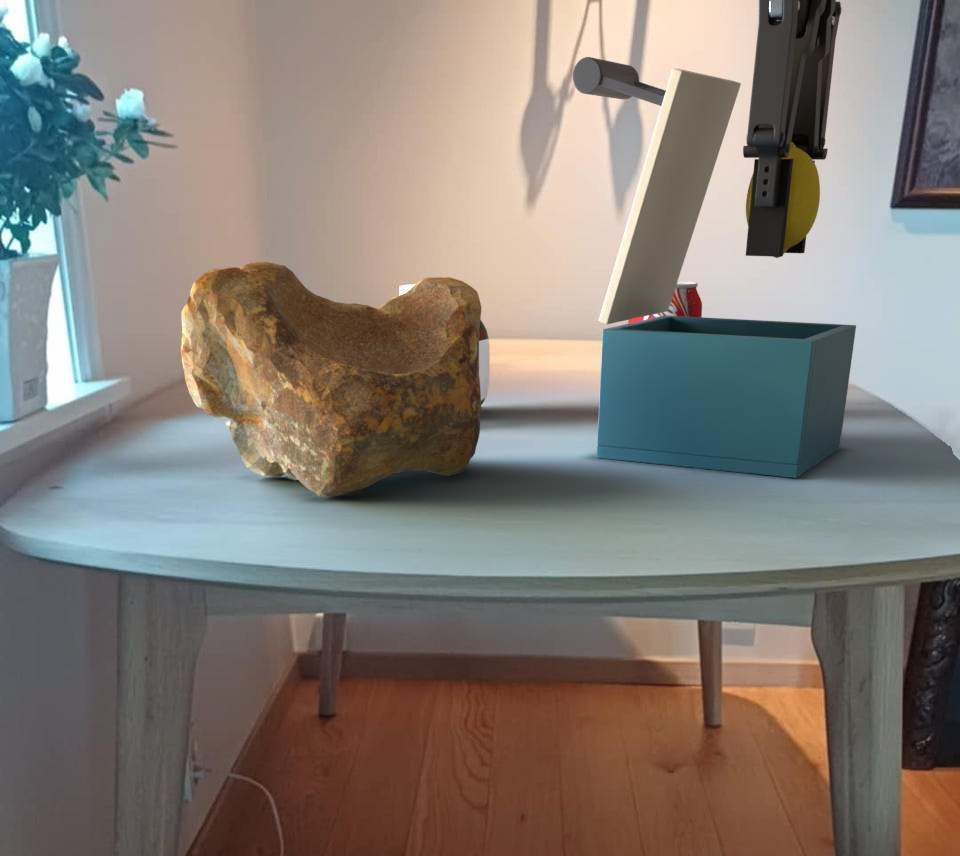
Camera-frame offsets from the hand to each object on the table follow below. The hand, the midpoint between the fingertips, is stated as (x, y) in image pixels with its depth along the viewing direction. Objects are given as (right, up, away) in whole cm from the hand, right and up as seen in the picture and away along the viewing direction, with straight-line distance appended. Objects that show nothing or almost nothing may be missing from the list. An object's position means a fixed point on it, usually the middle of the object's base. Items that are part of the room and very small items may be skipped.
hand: (775, 253), depth 98 cm
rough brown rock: (-33, -19, -2) cm, 38 cm away
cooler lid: (-8, +5, +2) cm, 9 cm away
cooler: (-3, -13, +9) cm, 16 cm away
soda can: (-5, -3, +27) cm, 28 cm away
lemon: (0, 0, 0) cm, 1 cm away
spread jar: (-27, -5, +24) cm, 37 cm away
